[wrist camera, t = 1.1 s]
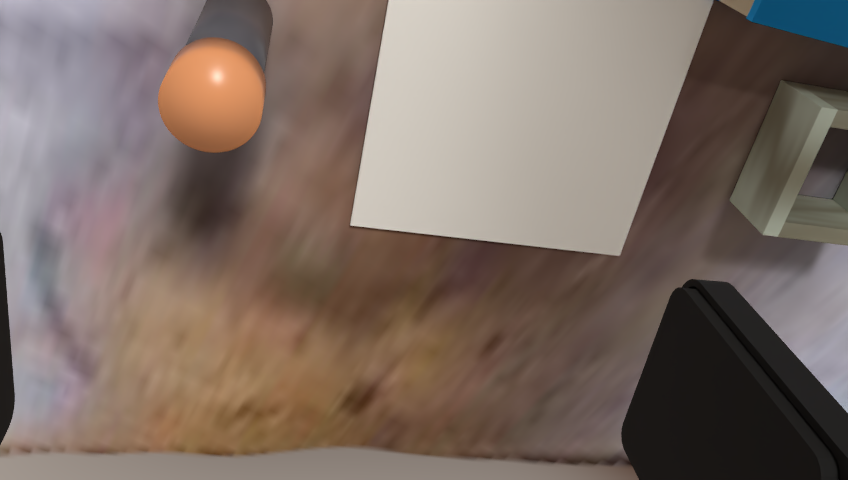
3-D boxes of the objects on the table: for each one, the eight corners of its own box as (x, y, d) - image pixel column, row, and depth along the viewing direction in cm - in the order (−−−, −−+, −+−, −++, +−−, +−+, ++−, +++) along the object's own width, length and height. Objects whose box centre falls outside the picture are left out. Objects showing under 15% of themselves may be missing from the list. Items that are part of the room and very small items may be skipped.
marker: (202, -26, 32) (159, 49, 23) (280, -13, 32) (267, 65, 24) (197, 49, 33) (156, 145, 25) (272, 60, 34) (257, 158, 25)
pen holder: (781, 80, 37) (821, 107, 34) (898, 99, 38) (947, 127, 35) (729, 200, 40) (762, 235, 37) (839, 214, 41) (879, 249, 38)
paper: (401, -81, 32) (402, -80, 31) (718, -20, 34) (720, -19, 34) (350, 223, 38) (350, 225, 38) (618, 253, 41) (619, 256, 41)
